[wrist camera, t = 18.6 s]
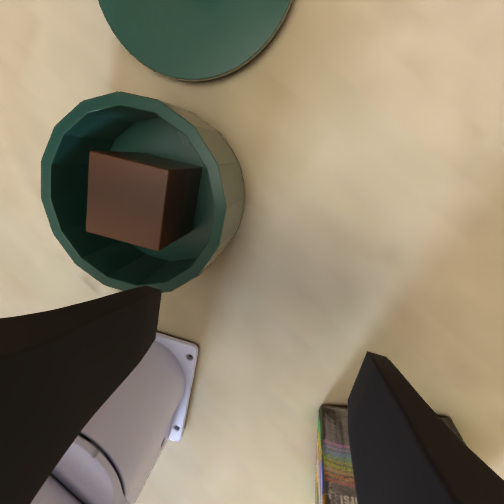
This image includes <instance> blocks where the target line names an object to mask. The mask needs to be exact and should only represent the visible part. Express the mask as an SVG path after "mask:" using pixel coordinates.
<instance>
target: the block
mask: <svg viewBox="0 0 504 504" xmlns="http://www.w3.org/2000/svg"><path fill="white" fill-rule="evenodd" d="M201 171H202V167H199V166H195V165H191V164H187V163H183V162H179V161H174V160H170V159H166V158H162V157H158V156H154V155H150V154H145V153H141V152H117V151H90V152H89V173H88V195H87V216H86V231H87V232H90V233H94V234H98V235H101V236H105V237H108V238H112V239H116V240H119V241H123V242H127V243H130V244H134V245H137V246H141V247H145V248H148V249H152V250H155V251H160V250H161V249H163V248H165V247H166V246H168V245H170V244H171V243H173V242H175V241H176V240H178V239H180V238H181V237H183V236H185V235H186V234H188V233H190V232H191V231H192V228H193V222H194V215H195V209H196V203H197V196H198V190H199V184H200V177H201Z"/></svg>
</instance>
